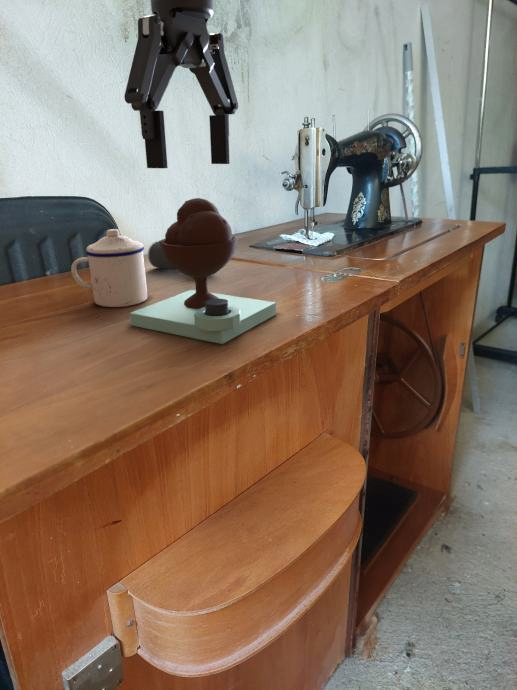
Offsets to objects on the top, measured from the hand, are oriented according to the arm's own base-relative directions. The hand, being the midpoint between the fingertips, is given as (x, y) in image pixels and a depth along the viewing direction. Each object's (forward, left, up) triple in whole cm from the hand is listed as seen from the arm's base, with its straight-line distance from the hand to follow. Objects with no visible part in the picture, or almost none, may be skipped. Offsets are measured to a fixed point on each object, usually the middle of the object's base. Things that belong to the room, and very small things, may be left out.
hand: (191, 166), depth 70 cm
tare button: (+8, -6, -18) cm, 21 cm away
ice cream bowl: (0, 0, -20) cm, 20 cm away
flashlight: (-21, +21, -21) cm, 37 cm away
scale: (+2, -1, -21) cm, 21 cm away
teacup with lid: (-18, 0, -21) cm, 28 cm away
